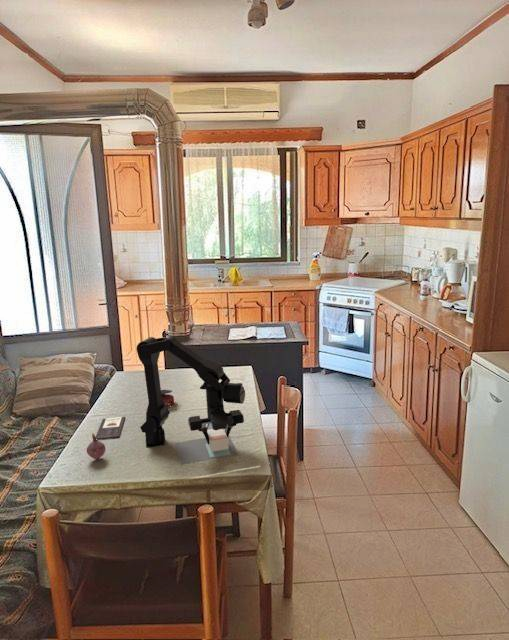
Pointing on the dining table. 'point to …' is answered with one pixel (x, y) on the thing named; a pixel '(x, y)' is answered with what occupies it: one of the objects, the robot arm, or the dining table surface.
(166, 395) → the canned food
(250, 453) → the dining table surface
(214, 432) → the card box
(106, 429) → the chocolate bar
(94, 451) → the vegetable
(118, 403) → the dining table surface
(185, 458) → the mat
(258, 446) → the dining table surface
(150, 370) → the robot arm
